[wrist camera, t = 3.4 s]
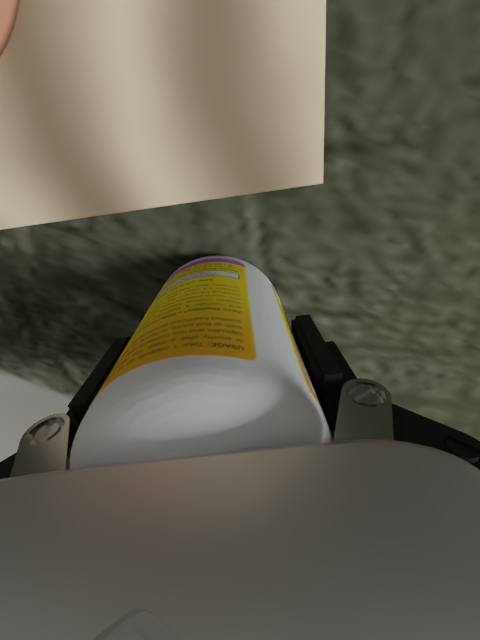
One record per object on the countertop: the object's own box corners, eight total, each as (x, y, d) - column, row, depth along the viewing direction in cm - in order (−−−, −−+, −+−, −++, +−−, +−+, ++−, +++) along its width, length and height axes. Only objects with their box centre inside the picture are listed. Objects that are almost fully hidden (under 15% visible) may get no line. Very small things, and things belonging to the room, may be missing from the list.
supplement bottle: (137, 316, 15) (-146, 731, 4) (210, 223, 13) (45, 563, 2) (228, 376, 17) (219, 753, 6) (303, 305, 15) (520, 695, 4)
